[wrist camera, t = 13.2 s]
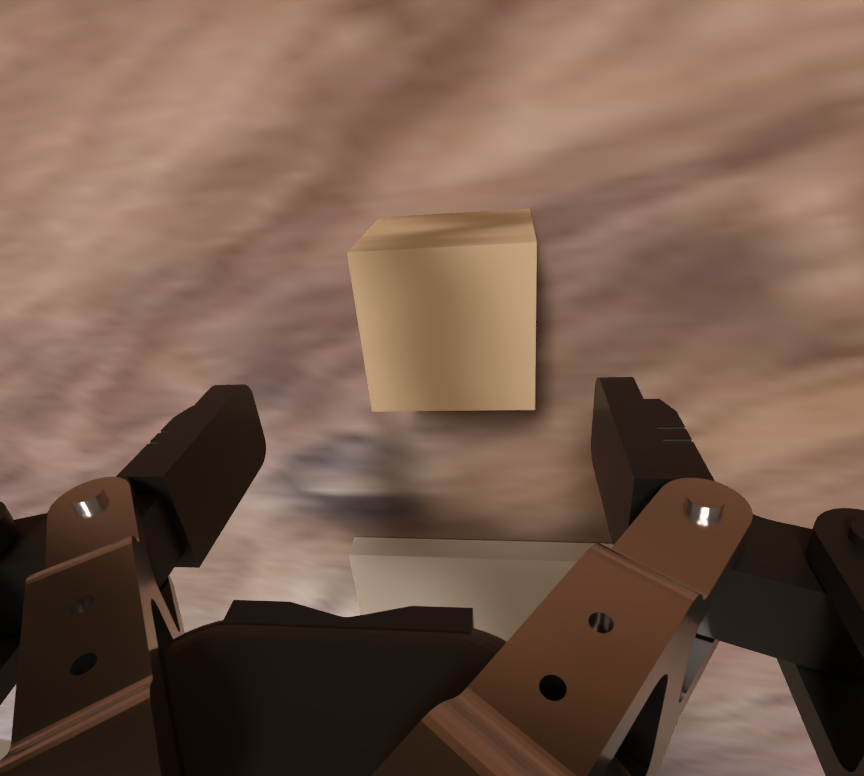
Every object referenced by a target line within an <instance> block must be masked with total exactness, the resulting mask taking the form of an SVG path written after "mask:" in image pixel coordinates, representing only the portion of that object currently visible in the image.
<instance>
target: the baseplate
mask: <svg viewBox="0 0 864 776" xmlns="http://www.w3.org/2000/svg"><path fill="white" fill-rule="evenodd" d="M594 544H596V543H566V542H527V541H488V540H450V539H411V538H372V537H354V540H353V543H352V546H351V549H350V552H349V559H350V563H351V568H352V573H353V578H354V583H355V587H356V592H357V597H358V602H359V607H360V611H361V615H365V614H370V613H376V612H381V611H387V610H392V609H397V608H403V607H408V606H431V607H462V608H473V619H474V628H475V629H479V630H482V631H485V632H488V633H503V634H514V633H515V632H516V631H517V630H518V629H519V627H520V626H521V625H522V624H523V623H524V622H525V621H526V619H527V618H528V617H529V616H530V615H531V614H532V613H533V611H534V610H535V609H536V608H537V607H538V606H539V605H540V603H541V602H542V601H543V600H544V599H545V598H546V597H547V595H548V594H549V593H550V592H551V591H552V590H553V589H554V587H555V586H556V585H557V584H558V583H559V582H560V581H561V579H562V578H563V577H564V576H565V575H566V574H567V573H568V571H569V570H570V569H571V568H572V567H573V566H574V565H575V563H576V562H577V561H578V560H579V559H580V558H581V557H582V555H583V554H584V553H585V552H586V551H587V550H588V549H589V548H590V547H591V546H592V545H594ZM600 544H602V545H604V546H606V547H608V548H610V549H611V548H612V547H613V544H605V543H600Z"/></svg>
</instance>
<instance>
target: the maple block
mask: <svg viewBox="0 0 864 776" xmlns="http://www.w3.org/2000/svg"><path fill="white" fill-rule="evenodd" d="M347 255H348V261H349V268H350V274H351V280H352V287H353V293H354V300H355V306H356V312H357V319H358V325H359V331H360V338H361V344H362V351H363V357H364V363H365V370H366V376H367V382H368V389H369V395H370V402H371V408H372V412H373V411H474V410H535V366H536V272H537V241H536V236H535V231H534V226H533V221H532V217H531V212H530V208H529V209H513V210H497V211H480V212H464V213H447V214H431V215H414V216H398V217H382V218H379V219H378V220H377V221H376V222H375V223H374V224H373V225H372V226H371V227H370V228H369V229H368V230H367V231H366V232H365V233H364V235H363V236H362V237H361V238H360V239H359V240H358V241H357V242H356V243H355V244H354V245H353V246H352V247H351V248H350V250H349V251H348V252H347Z"/></svg>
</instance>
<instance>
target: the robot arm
mask: <svg viewBox="0 0 864 776" xmlns="http://www.w3.org/2000/svg"><path fill="white" fill-rule="evenodd" d="M591 452H592V462H593V467H594V471H595V475H596V479H597V483H598V487H599V491H600V495H601V499H602V503H603V507H604V511H605V515H606V518H607V522H608V526H609V530H610V534H611V538H612V542H613V547H612V548H611V549H610V548H608V547H606V546H604V545H602V544H600V543H596V544H594V545H592V546H591V547H590V548H589V549H588V550H587V551H586V552H585V553H584V554H583V555H582V557H581V558H580V559H579V560H578V561H577V562H576V563H575V565H574V566H573V567H572V568H571V569H570V570H569V571H568V573H567V574H566V575H565V576H564V577H563V578H562V579H561V581H560V582H559V583H558V584H557V585H556V586H555V587H554V589H553V590H552V591H551V592H550V593H549V594H548V595H547V597H546V598H545V599H544V600H543V601H542V602H541V603H540V605H539V606H538V607H537V608H536V609H535V610H534V611H533V613H532V614H531V615H530V616H529V617H528V618H527V619H526V621H525V622H524V623H523V624H522V625H521V626H520V627H519V629H518V630H517V631H516V632H515V633H514V634H513V635H512V637H511V638H510V639H509V640H508V641H505V640H503V639H501V638H499V637H497V636H495V635H492V634H490V633H488V632H485V631H482V630H479V629H475V628H474V619H473V608H462V607H431V606H408V607H403V608H397V609H392V610H387V611H381V612H376V613H370V614H365V615H360V616H354V617H340V616H337V615H333V614H330V613H326V612H323V611H319V610H316V609H313V608H309V607H306V606H302V605H299V604H295V603H292V602H278V601H247V600H233V602H232V604H231V606H230V608H229V610H228V612H227V614H226V616H225V618H224V620H222V621H217V622H214V623H211V624H207V625H204V626H201V627H199V628H196V629H193V630H191V631H189V632H186V633H185V632H184V627H183V623H182V619H181V614H180V610H179V606H178V601H177V597H176V593H175V589H174V585H173V583H172V580H171V578H170V576H169V574H170V573H171V571H172V570H173V568H174V567H200V565H201V564H202V562H203V561H204V559H205V557H206V556H207V554H208V552H209V551H210V549H211V548H212V546H213V544H214V543H215V541H216V539H217V538H218V536H219V535H220V533H221V531H222V530H223V528H224V527H225V525H226V523H227V522H228V520H229V518H230V517H231V515H232V514H233V512H234V510H235V509H236V507H237V505H238V504H239V502H240V501H241V499H242V497H243V496H244V494H245V492H246V491H247V489H248V488H249V486H250V484H251V483H252V481H253V479H254V478H255V476H256V475H257V473H258V471H259V470H260V468H261V466H262V465H263V462H264V459H265V454H266V442H265V437H264V434H263V430H262V426H261V423H260V419H259V415H258V412H257V408H256V404H255V401H254V397H253V394H252V391H251V389H250V388H249V387H248V386H247V385H214V386H212V387H211V388H210V389H209V390H208V391H207V392H206V393H205V394H204V395H203V397H202V398H201V399H200V400H199V401H198V402H197V403H196V404H195V405H194V406H192V407H190V408H188V409H187V410H185V411H183V412H182V413H180V414H178V415H177V416H175V417H174V418H173V419H172V420H171V421H170V422H169V423H168V424H167V425H166V426H165V427H164V428H163V429H162V430H161V433H158V434H157V435H156V436H155V437H154V438H153V439H152V440H151V441H150V444H147V445H146V446H145V447H144V448H143V449H142V450H141V451H140V453H139V454H138V455H137V456H136V457H135V458H134V459H133V460H132V461H131V462H130V463H129V464H128V465H127V466H126V467H125V468H124V469H123V470H122V471H121V472H120V473H119V474H118V475H117V476H116V477H104V478H99V479H95V480H91V481H88V482H85V483H83V484H80V485H78V486H76V487H74V488H72V489H71V490H69V491H67V492H66V493H64V494H63V495H62V496H60V497H59V498H58V499H57V500H56V501H55V502H54V503H53V504H52V505H51V507H50V509H49V511H48V513H46V514H41V515H36V516H31V517H26V518H21V519H16V520H13V518H12V516H11V515H10V513H9V511H8V510H7V508H6V506H5V505H4V504H3V503H2V502H0V705H1V703H2V702H3V701H4V699H5V698H6V697H7V695H8V694H9V693H10V691H11V690H12V689H13V687H14V686H15V685H16V694H15V705H14V716H13V727H12V738H11V746H10V750H9V752H8V754H7V755H6V756H5V757H4V758H3V759H1V760H0V776H655V775H656V773H657V770H658V768H659V766H660V764H661V762H662V759H663V757H664V755H665V752H666V750H667V747H668V744H669V741H670V739H671V736H672V733H673V731H674V728H675V726H676V724H677V721H678V719H679V717H680V715H681V713H682V711H683V709H684V708H685V706H686V704H687V702H688V700H689V698H690V696H691V694H692V692H693V690H694V688H695V687H696V685H697V683H698V681H699V679H700V677H701V675H702V673H703V671H704V669H705V668H706V666H707V664H708V662H709V660H710V658H711V656H712V654H713V652H714V650H715V648H716V647H717V645H718V643H719V641H723V642H726V643H729V644H733V645H736V646H739V647H742V648H746V649H749V650H752V651H755V652H759V653H762V654H765V655H769V656H772V657H775V658H777V660H778V662H779V665H780V667H781V670H782V672H783V674H784V677H785V679H786V682H787V684H788V686H789V689H790V691H791V694H792V696H793V698H794V701H795V703H796V706H797V708H798V710H799V713H800V715H801V718H802V720H803V722H804V725H805V727H806V730H807V732H808V734H809V737H810V739H811V742H812V744H813V746H814V749H815V751H816V754H817V756H818V758H819V761H820V763H821V766H822V768H823V770H824V773H825V775H826V776H864V510H859V509H850V508H839V509H832V510H829V511H826V512H824V513H822V514H820V515H819V516H818V517H817V519H816V521H815V524H814V527H813V529H809V528H804V527H799V526H795V525H790V524H786V523H781V522H776V521H772V520H768V519H765V518H762V517H759V516H756V515H754V514H753V513H752V509H751V507H750V505H749V503H748V502H747V501H746V500H745V498H743V497H742V496H741V495H740V494H739V493H737V492H736V491H734V490H733V489H731V488H729V487H727V486H725V485H723V484H720V483H718V482H715V481H714V479H713V477H712V475H711V473H710V472H709V470H708V468H707V466H706V464H705V462H704V461H703V459H702V457H701V455H700V453H699V452H698V450H697V448H696V446H695V444H694V442H691V437H690V435H689V433H688V432H687V430H686V429H685V426H684V424H683V422H682V421H681V419H680V417H679V415H678V413H677V411H675V410H674V409H672V408H671V407H670V406H668V405H667V404H666V403H664V402H663V401H661V400H660V399H643V397H642V395H641V392H640V390H639V388H638V386H637V384H636V382H635V380H634V378H633V377H606V378H597V380H596V384H595V394H594V408H593V421H592V435H591Z"/></svg>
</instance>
